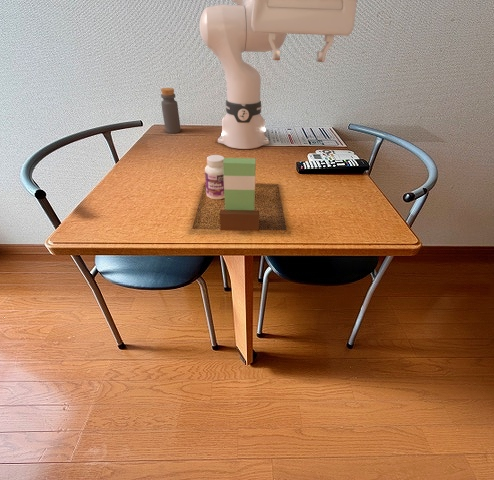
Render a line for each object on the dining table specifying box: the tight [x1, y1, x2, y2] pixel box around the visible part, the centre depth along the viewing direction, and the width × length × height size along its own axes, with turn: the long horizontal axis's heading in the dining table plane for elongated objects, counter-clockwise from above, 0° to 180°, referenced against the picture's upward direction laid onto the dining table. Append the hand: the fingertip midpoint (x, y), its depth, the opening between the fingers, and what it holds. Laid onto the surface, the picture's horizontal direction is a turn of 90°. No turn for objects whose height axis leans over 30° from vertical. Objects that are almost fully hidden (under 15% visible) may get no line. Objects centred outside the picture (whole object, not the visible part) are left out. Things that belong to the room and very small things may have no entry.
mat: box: [191, 182, 287, 232], centre depth 68 cm, size 22×20×5 cm
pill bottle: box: [204, 154, 225, 201], centre depth 69 cm, size 5×5×10 cm
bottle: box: [160, 87, 182, 134], centre depth 109 cm, size 6×6×15 cm
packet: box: [223, 157, 257, 210], centre depth 58 cm, size 2×6×14 cm, turn 91°
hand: (298, 60), depth 61 cm, fingers open, 8 cm apart
